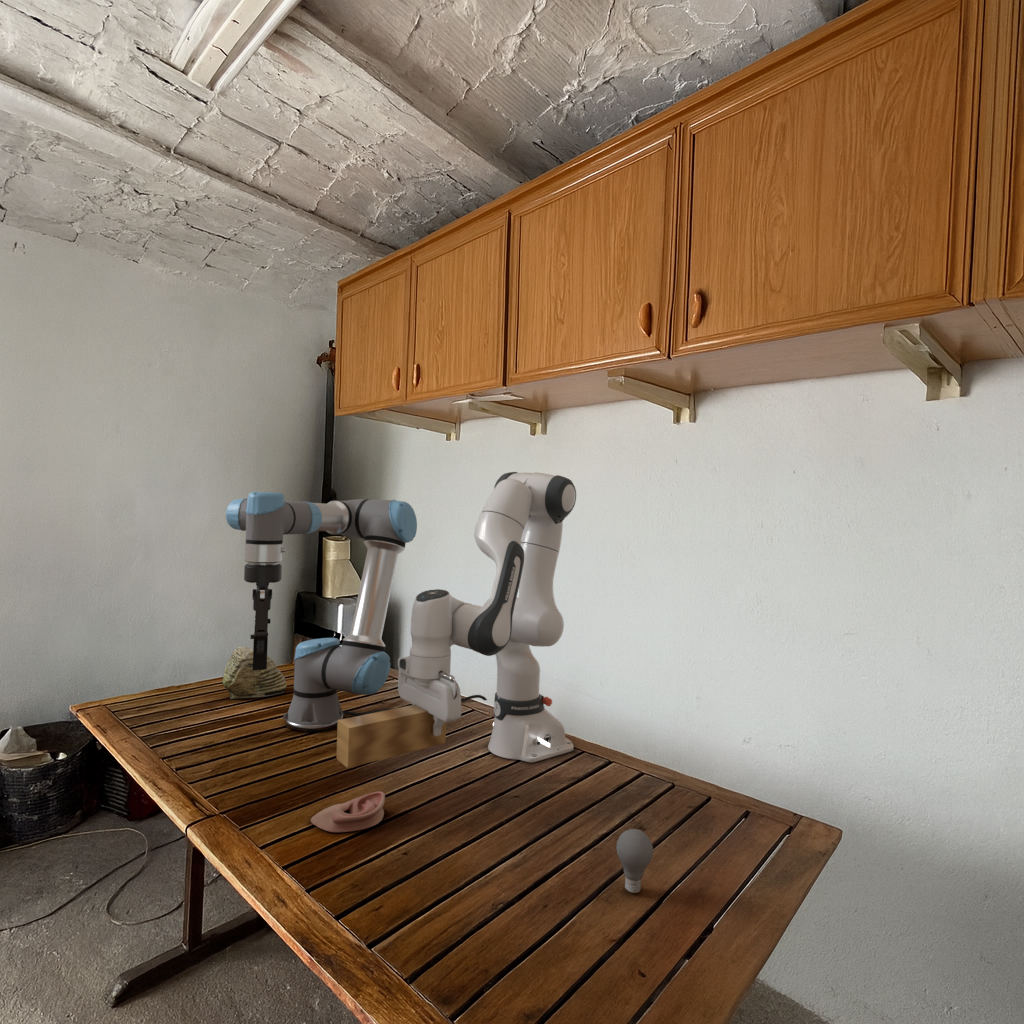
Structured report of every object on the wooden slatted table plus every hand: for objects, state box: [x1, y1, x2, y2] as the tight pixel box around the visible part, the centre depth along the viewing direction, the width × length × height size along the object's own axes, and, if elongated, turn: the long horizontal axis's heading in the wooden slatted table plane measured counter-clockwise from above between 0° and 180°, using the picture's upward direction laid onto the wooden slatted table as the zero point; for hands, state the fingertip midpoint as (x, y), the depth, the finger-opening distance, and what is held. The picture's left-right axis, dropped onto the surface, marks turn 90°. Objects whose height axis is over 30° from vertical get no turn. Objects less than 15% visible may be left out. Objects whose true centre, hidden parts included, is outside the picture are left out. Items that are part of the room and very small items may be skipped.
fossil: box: [222, 646, 288, 699], centre depth 198 cm, size 9×18×15 cm, turn 132°
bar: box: [336, 704, 447, 769], centre depth 131 cm, size 22×5×8 cm, turn 129°
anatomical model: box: [310, 790, 386, 833], centre depth 125 cm, size 13×4×12 cm
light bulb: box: [615, 828, 654, 894], centre depth 106 cm, size 6×6×10 cm
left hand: (259, 661), depth 137 cm, fingers open, 13 cm apart
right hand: (427, 729), depth 136 cm, fingers closed on bar, 5 cm apart
